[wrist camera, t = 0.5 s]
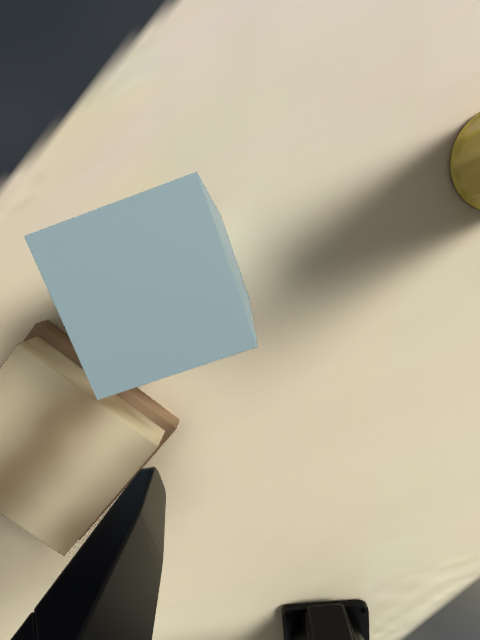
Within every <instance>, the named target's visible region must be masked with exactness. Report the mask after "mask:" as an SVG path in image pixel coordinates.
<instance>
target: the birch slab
mask: <svg viewBox="0 0 480 640" xmlns="http://www.w3.org/2000/svg"><path fill="white" fill-rule="evenodd" d="M164 432H165V430H163V429H162V428H161V427H159V426H158V425H157V424H155V423H154V422H153V421H151V420H150V419H149V418H147V417H146V416H145V415H143V414H142V413H141V412H139V411H138V410H137V409H135V408H134V407H133V406H131V405H130V404H129V403H127V402H126V401H125V400H123V399H122V398H121V397H119V396H118V395H117V394H114V395H111V396H108V397H105V398H102V399H99V400H97V398H96V396H95V394H94V391H93V389H92V387H91V385H90V383H89V380H88V378H87V376H86V374H85V371H84V370H83V369H82V368H81V367H79V366H78V365H77V364H75V363H74V362H73V361H71V360H70V359H69V358H67V357H66V356H65V355H63V354H62V353H61V352H59V351H58V350H57V349H55V348H54V347H53V346H51V345H50V344H49V343H47V342H46V341H44V340H43V339H42V338H40V337H39V336H36V337H34V338H31V339H29V340H26V341H24V342H21V343H19V344H18V345H17V346H16V347H15V349H14V350H13V352H12V353H11V354H10V356H9V357H8V358H7V360H6V361H5V363H4V364H3V365H2V367H1V368H0V514H2V515H3V516H5V517H6V518H8V519H9V520H11V521H12V522H14V523H15V524H17V525H18V526H20V527H21V528H23V529H24V530H26V531H27V532H29V533H30V534H32V535H33V536H35V537H36V538H38V539H39V540H41V541H42V542H44V543H45V544H47V545H48V546H49V547H51V548H52V549H54V550H55V551H57V552H58V553H60V554H61V555H63V556H65V554H66V553H67V552H68V551H69V550H70V549H71V548H72V546H73V545H74V544H75V543H76V542H77V541H78V539H79V538H80V537H81V536H82V535H83V534H84V532H85V531H86V530H87V529H88V528H89V527H90V525H91V524H92V523H93V522H94V521H95V520H96V518H97V517H98V516H99V515H100V514H101V513H102V511H103V510H104V509H105V508H106V507H107V506H108V505H109V503H110V502H111V501H112V500H113V499H114V498H115V496H116V495H117V494H118V493H119V492H120V491H121V489H122V488H123V487H124V486H125V485H126V484H127V482H128V481H129V480H130V479H131V478H132V477H133V475H134V474H135V473H136V472H137V471H138V470H139V468H140V467H141V466H142V465H143V464H144V463H145V462H146V460H147V459H148V458H149V457H150V456H151V455H152V453H153V452H154V451H155V450H156V449H157V448H158V446H159V443H160V441H161V439H162V437H163V434H164Z"/></svg>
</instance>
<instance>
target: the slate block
mask: <svg viewBox="0 0 480 640" xmlns="http://www.w3.org/2000/svg"><path fill="white" fill-rule="evenodd" d="M24 237H25V240H26V242H27V244H28V246H29V248H30V251H31V253H32V255H33V257H34V260H35V262H36V264H37V266H38V269H39V271H40V273H41V275H42V277H43V280H44V282H45V284H46V286H47V289H48V291H49V293H50V295H51V298H52V300H53V302H54V304H55V307H56V309H57V311H58V313H59V315H60V318H61V320H62V322H63V324H64V327H65V329H66V331H67V333H68V336H69V338H70V340H71V342H72V345H73V347H74V349H75V351H76V353H77V356H78V358H79V360H80V362H81V365H82V367H83V369H84V371H85V374H86V376H87V378H88V380H89V383H90V385H91V387H92V389H93V391H94V394H95V396H96V398H97V400H99V399H102V398H105V397H108V396H111V395H114V394H117V393H120V392H123V391H126V390H129V389H132V388H135V387H138V386H141V385H144V384H147V383H150V382H153V381H156V380H159V379H162V378H165V377H168V376H171V375H174V374H177V373H180V372H183V371H186V370H189V369H192V368H195V367H198V366H201V365H204V364H207V363H210V362H213V361H216V360H219V359H222V358H225V357H228V356H231V355H234V354H237V353H240V352H243V351H246V350H249V349H252V348H255V347H258V345H257V339H256V334H255V328H254V322H253V316H252V310H251V304H250V298H249V296H248V293H247V290H246V287H245V284H244V281H243V278H242V275H241V272H240V269H239V267H238V264H237V261H236V258H235V255H234V252H233V249H232V246H231V243H230V240H229V237H228V235H227V232H226V229H225V226H224V223H223V220H222V217H221V215H220V213H219V211H218V209H217V207H216V206H215V204H214V202H213V200H212V198H211V197H210V195H209V193H208V191H207V189H206V188H205V186H204V184H203V182H202V180H201V179H200V177H199V175H198V173H197V172H195V173H192V174H190V175H187V176H184V177H182V178H179V179H176V180H174V181H171V182H168V183H166V184H163V185H160V186H157V187H155V188H152V189H149V190H147V191H144V192H141V193H139V194H136V195H133V196H131V197H128V198H125V199H123V200H120V201H117V202H114V203H112V204H109V205H106V206H104V207H101V208H98V209H96V210H93V211H90V212H88V213H85V214H82V215H80V216H77V217H74V218H71V219H69V220H66V221H63V222H61V223H58V224H55V225H53V226H50V227H47V228H45V229H42V230H39V231H37V232H34V233H31V234H28V235H26V236H24Z"/></svg>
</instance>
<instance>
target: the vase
mask: <svg viewBox="0 0 480 640" xmlns="http://www.w3.org/2000/svg"><path fill="white" fill-rule="evenodd" d="M450 171H451V177H452V180H453V183H454V186H455V188H456V190H457V192H458V193H459V195H460V196H461V197H462V198H463V199H464V200H465V201H466V202H467V203H468V204H470V205H471V206H473V207H475V208H477V209H479V210H480V112H479V113H477V114H476V115H475V116H474V117H473V118H472V119H471V120H470V121H469V122H468V123H467V124H466V125H465V126H464V127H463V129H462V130H461V132H460V133H459V135H458V137H457V138H456V141H455V143H454V146H453V150H452V154H451V162H450Z"/></svg>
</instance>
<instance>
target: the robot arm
mask: <svg viewBox="0 0 480 640" xmlns="http://www.w3.org/2000/svg"><path fill="white" fill-rule="evenodd" d="M165 506H166V492H165V488H164V485H163V482H162V480H161V477H160V475H159V472H158V470H157V469H156V468H155V467H151V468H145V469H141V470H139V471H138V472H137V474H136V475H135V476H134V478H133V479H132V480H131V482H130V483H129V484H128V486H127V487H126V488H125V489H124V491H123V492H122V493H121V495H120V496H119V497H118V499H117V500H116V501H115V503H114V504H113V505H112V507H111V508H110V509H109V511H108V512H107V513H106V515H105V516H104V517H103V519H102V520H101V521H100V523H99V524H98V525H97V527H96V528H95V529H94V530H93V532H92V533H91V534H90V536H89V537H88V538H87V540H86V541H85V542H84V544H83V545H82V546H81V548H80V549H79V550H78V552H77V553H76V554H75V556H74V557H73V558H72V560H71V561H70V562H69V564H68V565H67V566H66V567H65V569H64V570H63V571H62V573H61V574H60V575H59V577H58V578H57V579H56V581H55V582H54V583H53V585H52V586H51V587H50V589H49V590H48V591H47V593H46V594H45V595H44V597H43V598H42V599H41V601H40V602H39V603H38V605H37V606H36V607H35V609H34V612H32V613H31V614H30V615H29V616H28V618H27V619H26V620H25V621H24V623H23V624H22V625H21V627H20V628H19V629H18V631H17V632H16V633H15V635H14V636H13V637H12V638H11V640H152V634H153V627H154V620H155V613H156V607H157V600H158V593H159V586H160V579H161V572H162V564H163V551H164V529H165ZM282 621H283V633H284V640H369V610H368V607H367V604H366V602H365V601H363V600H356V601H341V602H327V603H313V604H299V605H287V606H284V607H283V608H282Z"/></svg>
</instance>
